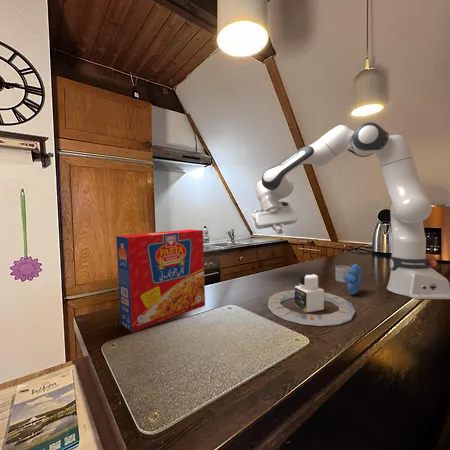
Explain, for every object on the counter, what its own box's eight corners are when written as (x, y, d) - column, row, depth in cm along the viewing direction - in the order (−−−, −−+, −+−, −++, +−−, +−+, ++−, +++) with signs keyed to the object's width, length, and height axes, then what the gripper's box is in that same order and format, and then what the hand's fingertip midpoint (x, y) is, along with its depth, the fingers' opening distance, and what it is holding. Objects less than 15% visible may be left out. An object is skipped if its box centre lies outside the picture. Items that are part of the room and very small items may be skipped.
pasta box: (132, 333, 73) (127, 237, 71) (120, 324, 78) (116, 236, 77) (205, 305, 93) (202, 230, 91) (191, 300, 98) (189, 229, 97)
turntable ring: (344, 296, 98) (344, 291, 98) (364, 329, 71) (364, 323, 71) (271, 292, 105) (271, 287, 105) (264, 321, 78) (264, 315, 78)
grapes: (347, 287, 109) (347, 260, 108) (365, 291, 104) (365, 262, 103) (338, 295, 100) (338, 265, 99) (356, 298, 95) (357, 267, 95)
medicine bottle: (294, 305, 91) (294, 272, 90) (311, 302, 93) (311, 270, 92) (306, 312, 84) (305, 277, 83) (324, 310, 86) (324, 275, 85)
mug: (352, 282, 116) (352, 268, 115) (337, 282, 117) (337, 268, 117) (346, 277, 125) (346, 263, 125) (332, 276, 127) (332, 263, 126)
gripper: (251, 207, 117) (260, 233, 110) (292, 202, 120) (303, 226, 114) (249, 215, 122) (257, 240, 116) (288, 209, 126) (298, 233, 119)
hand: (280, 233), depth 115 cm, fingers closed
